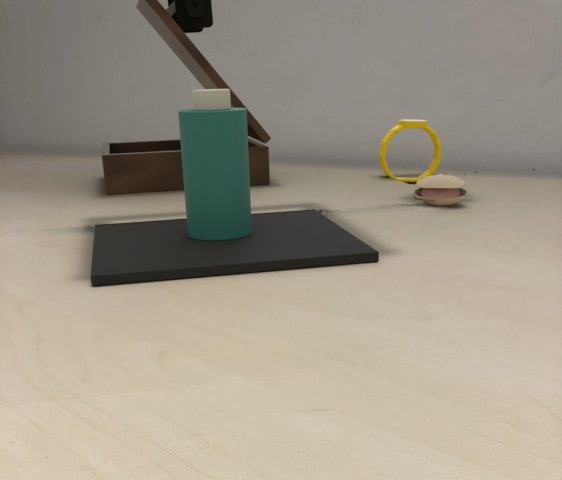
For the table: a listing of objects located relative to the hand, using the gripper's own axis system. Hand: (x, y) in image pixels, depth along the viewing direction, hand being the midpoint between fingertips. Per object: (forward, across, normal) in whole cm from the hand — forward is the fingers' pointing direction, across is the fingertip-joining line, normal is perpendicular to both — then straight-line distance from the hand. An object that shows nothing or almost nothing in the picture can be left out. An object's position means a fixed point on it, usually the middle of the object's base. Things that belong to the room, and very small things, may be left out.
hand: (191, 28), depth 66 cm
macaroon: (+15, +18, +18) cm, 29 cm away
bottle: (+14, +26, -2) cm, 30 cm away
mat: (+15, +26, -2) cm, 30 cm away
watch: (+15, +6, +20) cm, 26 cm away
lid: (+4, 0, 0) cm, 4 cm away
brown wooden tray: (+15, 0, -2) cm, 15 cm away
